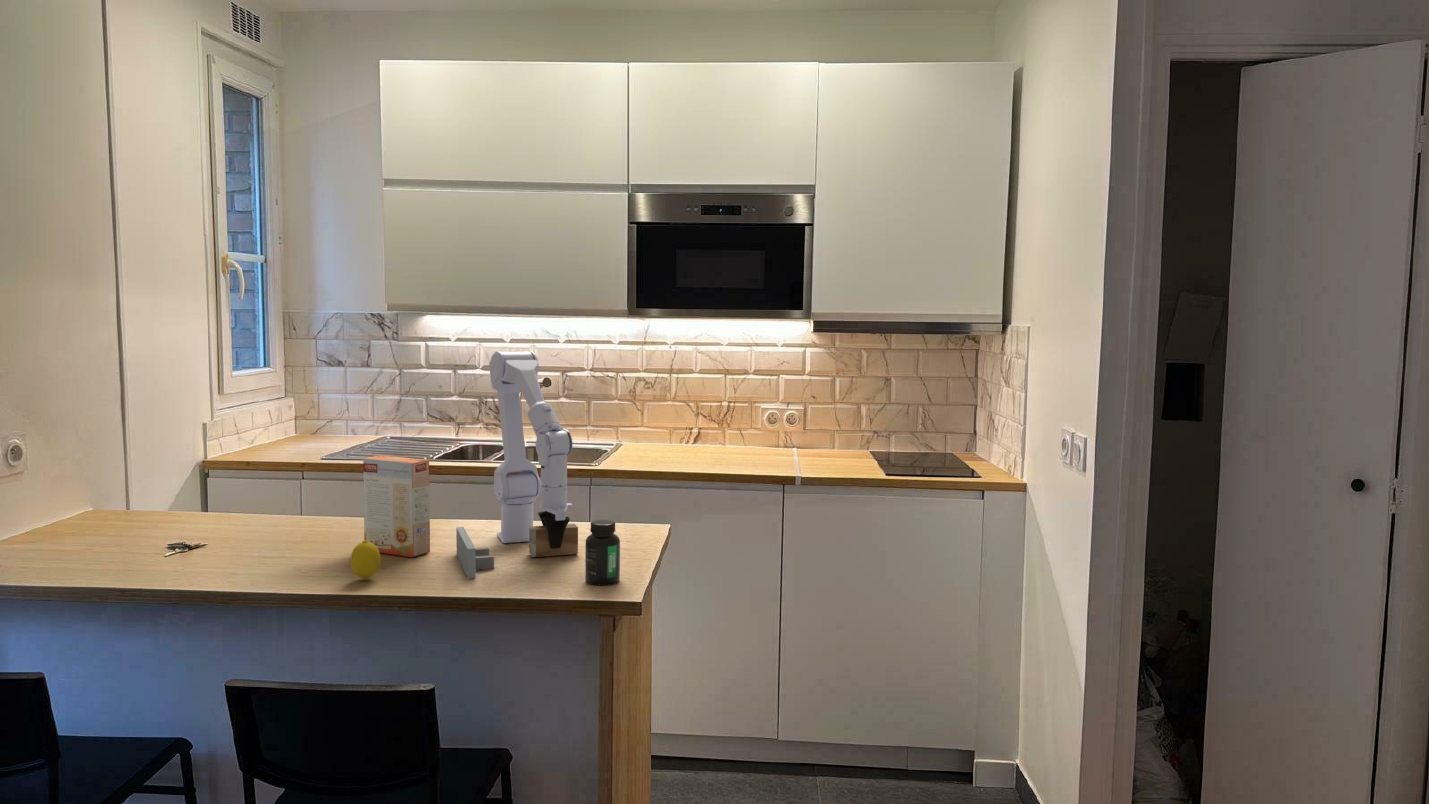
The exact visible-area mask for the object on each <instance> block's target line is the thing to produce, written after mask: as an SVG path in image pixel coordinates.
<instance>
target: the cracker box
mask: <svg viewBox="0 0 1429 804" xmlns="http://www.w3.org/2000/svg"><path fill="white" fill-rule="evenodd" d="M362 460H363V461H362V462H363V463H362V464H363V465H362V466H363V474H362V475H363V525H364V526H363V528H364V529H363V533H364V537H363V541H364V540H367V541H368V542H370V543H373V544H374V545H375V546H376V547H377V548H378V550H379V553H380V554H386V555H387V554H388V555H394V556H401V557H405V558H416V557H418V556H422V555H425V554H428V553H430V552H431V539H430V538H431V537H430V536H431V528H430V527H431V521H430V520H431V518H430V516H431V513H430V512H431V511H430V510H431V509H430V508H431V507H430V506H431V505H430V497H431V496H430V459H422V458H412V457H402V456H392V455H373V456H370V457H364V458H363V459H362Z"/></svg>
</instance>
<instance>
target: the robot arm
mask: <svg viewBox="0 0 1429 804" xmlns="http://www.w3.org/2000/svg"><path fill="white" fill-rule="evenodd" d="M488 365H489V366H488V367H489V375H490V382H491V388H492V389H494V390H495V391H496V392H497V402H498V409H499V419H500V421H499V422H500V429H501V430H500V431H501V438H502V449H503V456H504V457H503V459H504V460H503V461H502V463H501V464H499V465H498V467H496V469H495V470H494V472H493V475H494V476H493V477H494V478H493V479H494V481H493V493H494V497H495V498H496V500H497V501H498V502H499V503H501V508H500V509H501V510H500V524H501V525H500V532H499V531H498V532H496V535H497V537H498V538H499V539H500V541H501V543H502V544H508V543H509V544H512V543H522V542H523V543H525V542H527V543H528V542H529V527H530V526H534V502H536V501H537V498H538V497H540V504H539V510H541V511H538V512H537V515H538V517H539V519H540V521H541V524H542V525H541V526H545V525H546V527H547V531H548V537H549V544H550V548H551V549H556V548H560V547H561V544H562V540H563V535H564V531H565V529H566V526H567V524H570V520H571V517H569V516H566V512H567V510H568V509H572V508H573V503H571V502H568V456H570V454H571V453H572V451H573V445H574V444H573V438H572V435H571V432H570V430H568V429H566V428H565V426H563V425H561V424H560V421H559V419H558V416H557V414H556V413H555V410H554V407H553V406H552V404H551V403H549V402H546V401H545V398H544V394H543V391H542V389H541V386H540V382H539V380H538V379H539V378H538V374H539V359H538V356H537V355H536V353H535V352H534V351H532V350H528V351H499V350H498V351H497V350H496V351H495V352H494V353H493V354H492V355H491V358H490V361H489V364H488ZM520 393H521V394H522V396H523V399H524V400H525V401H526V403H527V405H528V407H529V410H528V411H527V418H528V420H529V422H530V424H531V426H532V429H533V431H534V434H535V437H536V440H535V441H536V442H535V443H534V444H535V451H536V453H537V462H538V465H540V476H539V473H538V468H537V466H536V465H535V464H534V463H533V462H531V461H530V460H528V459H527V453H526V451H527V450H526V445H525V444H526V443H525V435H524V425H523V416H522V414H523V413H522V407H521V398H520ZM518 472H519V473H518Z"/></svg>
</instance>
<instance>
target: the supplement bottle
mask: <svg viewBox="0 0 1429 804" xmlns="http://www.w3.org/2000/svg"><path fill="white" fill-rule="evenodd" d="M589 532H590V533H591V534H590V535H588V536H587V537H586V539H585V559H584V560H585V561H584V562H585V564H584V565H585V569H584V570H585V571H584V574H585V581H586V583H587V584H589V585H592V586H597V585H598V586H600V587H601V586H602V587H604V586H606V587H607V586H611V585H615V584H617V583H618V582H619V581H620V578H621V577H620V576H621V575H620V574H621V540H620V537H619V536H618V535H617V534H616V533H615V532H616V522H615V521H614V520H610V519H597V520H596V519H595V520H592V521H591V522H590V528H589Z"/></svg>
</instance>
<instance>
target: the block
mask: <svg viewBox="0 0 1429 804" xmlns="http://www.w3.org/2000/svg"><path fill="white" fill-rule="evenodd" d="M578 553H579V526H578V525H577V524H575V523H568V524H567V526H566V529H565V531H564V535H563V540H562V544H561V547H560V548H556V549H551V548H550V544H549V537H548V531H547V527H546V525H545V526H543V525H535V526H534V525H533V526H530V527H529V541H528V554H530V555H529V556H531V558H536V557H537V558H539V557H540V558H542V557H553V556H566V555H577V554H578Z"/></svg>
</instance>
